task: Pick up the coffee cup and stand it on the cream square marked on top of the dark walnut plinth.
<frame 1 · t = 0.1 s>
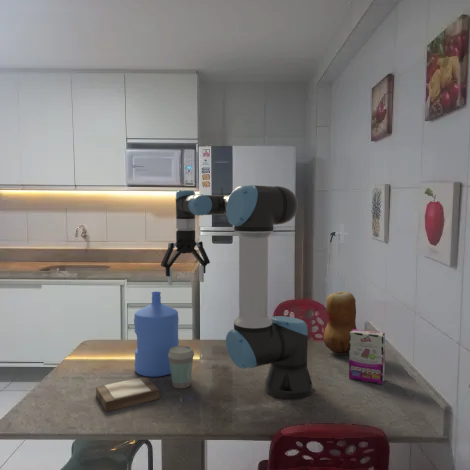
hand: (186, 283, 171), 28 cm above the counter, tool pointing down, fingers open, 13 cm apart
butternut squash: (340, 354, 172), on the counter
coffee cup: (181, 385, 142), on the counter
water jug: (156, 369, 155), on the counter
candy bar box: (366, 379, 146), on the counter
candy box: (258, 352, 174), on the counter
walnut plinth: (127, 397, 132), on the counter
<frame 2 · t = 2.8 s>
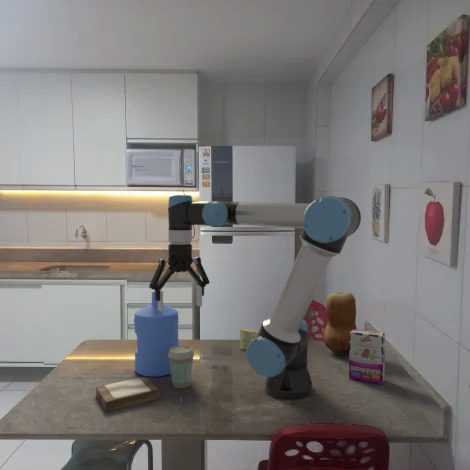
hand: (180, 308, 140), 26 cm above the counter, tool pointing down, fingers open, 13 cm apart
nothing on the counter moved.
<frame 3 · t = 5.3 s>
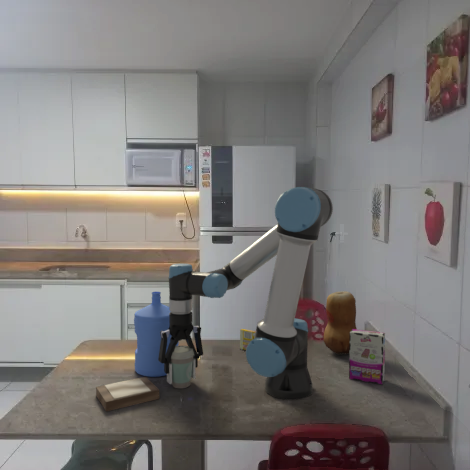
hand: (181, 379, 141), 2 cm above the counter, tool pointing down, fingers closed on coffee cup, 8 cm apart
coffee cup: (181, 385, 142), on the counter, touching gripper
everything else where it was.
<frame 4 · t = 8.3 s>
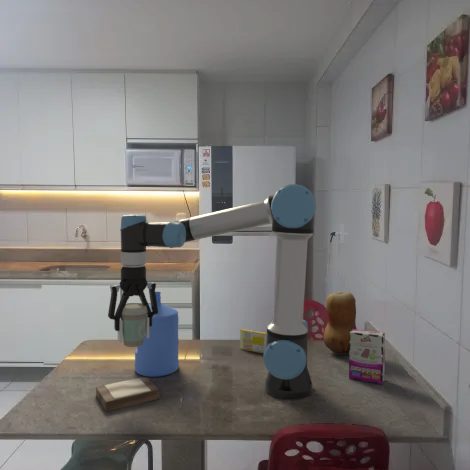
hand: (133, 338, 133), 18 cm above the counter, tool pointing down, fingers closed on coffee cup, 8 cm apart
coffee cup: (133, 344, 133), point 16 cm above the counter, touching gripper
everything else where it was.
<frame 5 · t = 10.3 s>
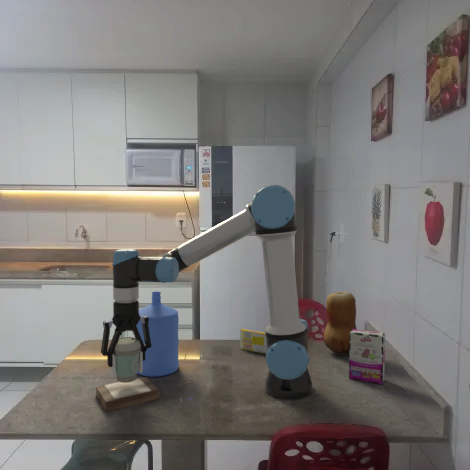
hand: (126, 373, 132), 7 cm above the counter, tool pointing down, fingers closed on coffee cup, 8 cm apart
coffee cup: (126, 379, 132), point 6 cm above the counter, touching gripper
everything else where it was.
when the fingers open (6 cm above the counter, at t = 11.6 s): coffee cup stays where it is, resting on walnut plinth.
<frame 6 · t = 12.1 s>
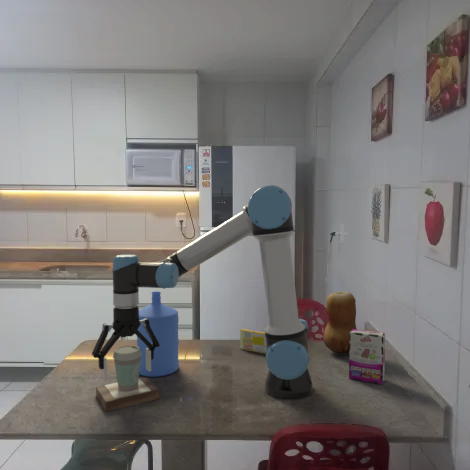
hand: (127, 374, 132), 7 cm above the counter, tool pointing down, fingers open, 13 cm apart
coffee cup: (128, 388, 132), point 3 cm above the counter, touching walnut plinth
everything else where it was.
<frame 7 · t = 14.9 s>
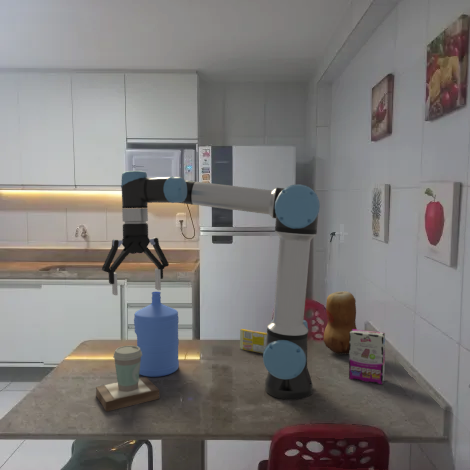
hand: (137, 292, 132), 32 cm above the counter, tool pointing down, fingers open, 13 cm apart
nothing on the counter moved.
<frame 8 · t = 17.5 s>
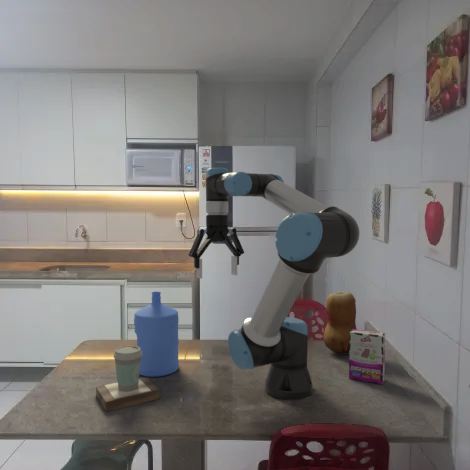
hand: (217, 276, 147), 35 cm above the counter, tool pointing down, fingers open, 13 cm apart
nothing on the counter moved.
at the end: coffee cup 0.3 cm off-centre on the walnut plinth, point 2.8 cm above the walnut plinth's base; coffee cup tilted 0°; the gripper is holding nothing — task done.
